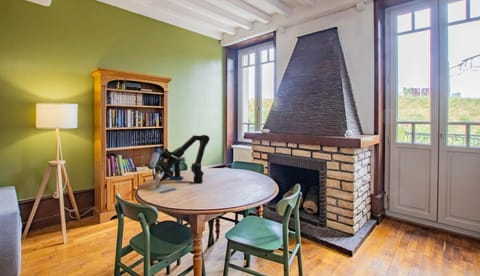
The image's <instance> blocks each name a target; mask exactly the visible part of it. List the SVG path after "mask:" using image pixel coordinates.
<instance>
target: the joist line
mask: <svg viewBox="0 0 480 276" xmlns="http://www.w3.org/2000/svg"><path fill="white" fill-rule="evenodd" d="M175 188H176V187H174V188H173V189H169V190H165V191H161V192H158V193H160V194H162V193H165V194H167V193H166V192H169V193H171V192H170V191H173V190H177V189H178V188H177V189H175ZM177 191H178V190H177ZM173 192H174V191H173Z"/></svg>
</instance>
